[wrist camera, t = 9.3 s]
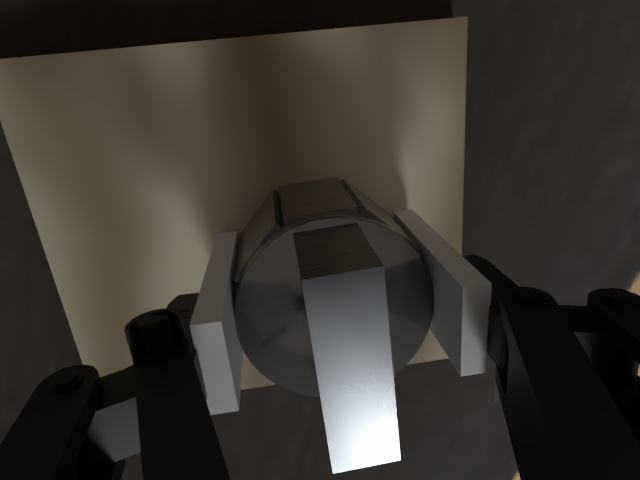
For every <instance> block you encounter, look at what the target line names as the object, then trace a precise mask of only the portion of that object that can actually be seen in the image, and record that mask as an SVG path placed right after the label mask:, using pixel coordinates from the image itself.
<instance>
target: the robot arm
mask: <svg viewBox="0 0 640 480" xmlns="http://www.w3.org/2000/svg"><path fill="white" fill-rule="evenodd" d="M393 216H394V220H395V221H396V222H397V223H398V224H399V225H400V226H401V227H402V229H403V230H404V231H405V232H406V233H407V234H408V235H409V236H410V238H411V239H412V240H413V241H414V242H415V243H416V244H417V245H418V247H419V248H420V249H419V250H420V251H421V252H422V254H423V255H424V264H425V266H426V268H427V271H428V273H429V275H430V279H431V282H432V286H433V293H434V310H433V316H432V321H431V325H430V330H431V331H432V333H433V334H434V336H435V337H436V339H437V341H438V342H439V344H440V345H441V347H442V348H443V350H444V351H445V353H446V355H447V356H448V358H449V359H450V361H451V362H452V364H453V366H454V367H455V369H456V370H457V372H458V373H459V375H460V376H467V375H474V374H480V373H487V367H488V354H489V356H490V357H491V358H492V359H493V361H494V362H495V363H496V378H495V394H494V402H495V403H498V402H499V397H500V400H501V404H502V407H503V411H504V415H505V419H506V423H507V427H508V431H509V435H510V439H511V443H512V447H513V451H514V455H515V459H516V463H517V466H518V470H519V474H520V478H521V480H640V377H639V376H638V375H637V373H638V368H639V364H640V296H639V295H637V294H634V293H631V292H628V291H626V290H623V289H617V288H609V289H598V290H594V291H592V292H591V293H589V294H588V301H587V306H571V305H558V304H557V302H556V301H555V299H554V298H553V297H552V296H551V295H550V294H548V293H546V292H544V291H542V290H539V289H535V288H529V287H518V286H517V285H516V284H515V283H514V282H513V281H511V280H510V279H509V278H508V277H507V276H505V275H504V274H502V272H501V271H500V270H498V269H497V268H495V266H494V265H493V264H491V263H490V262H489V261H488V260H486V259H484V258H481V257H479V256H476V255H474V254H473V255H466V256H462V255H461V254H460V253H458V252H457V251H456V250H455V249H454V248H453V247H452V246H451V245H450V244H449V243H448V242H447V241H446V240H445V239H443V238H442V237H441V236H440V235H439V234H438V233H437V232H436V231H435V230H434V229H433V228H432V227H431V226H430V225H429V224H427V223H426V222H425V221H424V220H423V219H422V218H421V217H420V216H419V215H418V214H417V213H416V212H415V211H414V210H412V209H411V210H403V211H395V212H393ZM237 248H238V235H237V231H235V232H227V233H219V234H216V238H215V241H214V245H213V248H212V251H211V255H210V258H209V261H208V265H207V268H206V272H205V275H204V278H203V282H202V285H201V288H200V292H198V293H190V294H183V295H178V296H177V297H175V298H174V299H173V300H172V301H171V302H170V303H169V304H168V306H167V308H166V309H156V310H151V311H148V312H145V313H143V314H140V315H138V316H137V317H135V318H133V319H132V320H131V321H130V322H129V323H128V324H126V326H125V329H124V332H125V335H126V339H127V342H128V346H129V349H130V352H131V356H132V359H133V365H131V366H130V367H128V368H125V369H123V370H120V371H118V372H115V373H112V374H108V375H105V376H102V377H100V376H99V373H98V370H97V369H96V368H95V367H94V366H90V365H75V366H71V367H66V368H63V369H61V370H60V371H59V370H58V371H56V372H55V373H53V374H52V375H50V376H49V377H47V378H46V379H44V380H43V381H42V382H41V383H40V384H39V385H38V386H37V387H36V389H35V390H34V392H33V394H32V395H31V397H30V398H29V400H28V402H27V403H26V405H25V406H24V408H23V410H22V411H21V413H20V414H19V416H18V417H17V419H16V421H15V422H14V424H13V425H12V427H11V429H10V430H9V432H8V433H7V435H6V437H5V438H4V440H3V441H2V443H1V445H0V480H121V477H122V473H123V470H124V466H125V460H126V458H127V457H129V456H132V455H134V454H137V453H139V452H141V461H142V472H143V480H230V477H229V473H228V470H227V467H226V464H225V460H224V457H223V454H222V451H221V448H220V444H219V441H218V438H217V435H216V431H215V428H214V425H213V422H212V419H211V415H215V414H221V413H227V412H234V411H239V402H240V389H241V376H242V363H243V349H242V347H241V345H240V342H239V339H238V336H237V331H236V326H235V304H236V303H235V298H234V292H233V281H234V280H233V274H234V268H235V261H236V254H237ZM206 400H207V402H206ZM207 405H208V406H207Z"/></svg>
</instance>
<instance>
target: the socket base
mask: <svg viewBox="0 0 640 480" xmlns="http://www.w3.org/2000/svg"><path fill="white" fill-rule="evenodd" d="M467 26H468V17H457V18H446V19H435V20H424V21H413V22H402V23H391V24H380V25H369V26H358V27H347V28H336V29H325V30H314V31H303V32H292V33H281V34H270V35H259V36H248V37H237V38H226V39H215V40H204V41H193V42H181V43H170V44H159V45H148V46H137V47H126V48H115V49H104V50H93V51H82V52H71V53H60V54H49V55H38V56H27V57H16V58H5V59H0V121H1V124H2V127H3V130H4V133H5V136H6V139H7V142H8V145H9V148H10V150H11V153H12V156H13V159H14V162H15V165H16V168H17V171H18V174H19V177H20V180H21V183H22V186H23V189H24V192H25V195H26V198H27V201H28V204H29V207H30V210H31V213H32V215H33V218H34V221H35V224H36V227H37V230H38V233H39V236H40V239H41V242H42V245H43V248H44V251H45V254H46V257H47V260H48V263H49V266H50V269H51V272H52V275H53V277H54V280H55V283H56V286H57V289H58V292H59V295H60V298H61V301H62V304H63V307H64V310H65V313H66V316H67V319H68V322H69V325H70V328H71V331H72V334H73V337H74V339H75V342H76V345H77V348H78V351H79V354H80V357H81V360H82V363H83V365H90V366H94V367H95V368H96V369H97V370H98V373H99V376H100V377H102V376H105V375H108V374H112V373H115V372H118V371H120V370H123V369H125V368H128V367H130V366H131V365H133V359H132V356H131V352H130V349H129V346H128V342H127V339H126V335H125V332H124V329H125V326H126V324H128V323H129V322H130V321H131V320H132V319H133V318H135V317H137V316H138V315H140V314H143V313H145V312H148V311H151V310H156V309H166V308H167V306H168V304H169V303H170V302H171V301H172V300H173V299H174V298H175V297H177V296H178V295H183V294H190V293H198V292H200V288H201V285H202V282H203V278H204V275H205V272H206V268H207V265H208V261H209V258H210V255H211V251H212V248H213V245H214V241H215V238H216V234H219V233H227V232H235V231H237V235H238V241H239V235H240V233H241V232H242V231H243V229H244V228H245V227H246V225H247V224H248V223H249V221H250V220H251V219H252V217H253V216H254V214H255V213H256V212H257V210H258V209H259V208H260V206H261V205H262V204H263V202H264V201H265V199H266V198H267V197H268V195H269V194H270V193H271V191H272V190H274V191H276V192H277V193H278V194H280V191H279V186H282V185H288V184H294V183H301V182H307V181H313V180H320V179H326V178H332V177H337V178H338V179H339V181H340V182H341V181H342V180H343V179H345V180H346V181H347V182H349V183H350V184H351V185H353V186H354V187H355V188H357V189H358V190H359V191H361V192H362V193H363V194H365V195H366V196H367V197H369V198H370V199H371V200H373V201H374V202H376V203H377V204H378V205H380V206H381V207H382V208H384V209H385V210H386V211H387V212H388V213H389V214H390V215H391V216H392V217H393V218H394V216H393V212H395V211H403V210H411V209H412V210H414V211H415V212H416V213H417V214H418V215H419V216H420V217H421V218H422V219H423V220H424V221H425V222H426V223H427V224H429V225H430V226H431V227H432V228H433V229H434V230H435V231H436V232H437V233H438V234H439V235H440V236H441V237H442V238H443V239H445V240H446V241H447V242H448V243H449V244H450V245H451V246H452V247H453V248H454V249H455V250H456V251H457V252H458V253H460V254H461V255H462V222H463V183H464V144H465V104H466V65H467ZM447 358H448V356H447V355H446V353H445V351H444V350H443V348H442V347H441V345H440V344H439V342H438V341H437V339H436V337H435V336H434V334H433V333H432V331H431V330H430V328H429V331H428V333H427V335H426V338H425V340H424V342H423V343H422V345H421V347H420V348H419V350H418V351H417V353H416V354H415V355H414V356H413V358H412V359H411V360H410V361H409V362H408V363H407V364H414V363H420V362H427V361H434V360H440V359H447ZM407 364H406V365H407ZM269 385H275V383H273V382H272V381H270V380H268V379H267V378H266V377H265V376H264V375H262V374H261V373H260V372H259V371H258V370H257V369H256V368H255V367H254V366H253V365H252V364H251V362H250V361H249V359H248V358H247V356H246V355H245V353H244V351H243V363H242V376H241V389H240V390H242V389H249V388H256V387H262V386H269Z"/></svg>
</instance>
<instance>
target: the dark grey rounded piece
mask: <svg viewBox="0 0 640 480" xmlns="http://www.w3.org/2000/svg"><path fill="white" fill-rule="evenodd" d="M279 191H280V194H278V193H277V192H276V191H274V190H272V191H271V193H270V194H269V195H268V197H267V198H266V199H265V201H264V202H263V204H262V205H261V206H260V208H259V209H258V210H257V212H256V213H255V214H254V216H253V217H252V219H251V220H250V221H249V223H248V224H247V225H246V227H245V228H244V229H243V231H242V232H241V233H240V235H239V241H238V248H237V254H236V261H235V268H234V274H233V280H234V281H233V292H234V298H235V303H236V304H235V326H236V331H237V336H238V339H239V342H240V345H241V347H242V349H243V351H244V353H245V355H246V356H247V358H248V359H249V361H250V362H251V364H252V365H253V366H254V367H255V368H256V369H257V370H258V371H259V372H260V373H261V374H262V375H264V376H265V377H266V378H267V379H268V380H270V381H272V382H273V383H275V384H276V385H278V386H280V387H282V388H285V389H287V390H289V391H292V392H295V393H298V394H303V395H308V396H314V397H320V403H321V408H322V414H323V420H324V426H325V432H326V437H327V443H328V449H329V455H330V461H331V466H332V472H333V474H334V473H339V472H344V471H349V470H354V469H359V468H364V467H369V466H374V465H379V464H384V463H389V462H394V461H399V460H401V457H400V445H399V434H398V422H397V411H396V399H395V387H394V376H393V375H395V374H396V373H397V372H399V371H400V370H401V369H402V368H403V367H404V366H405V365H406V364H407V363H408V362H409V361H410V360H411V359H412V358H413V356H414V355H415V354H416V353H417V351H418V350H419V348H420V347H421V345H422V343H423V342H424V340H425V338H426V335H427V333H428V331H429V328H430V325H431V321H432V316H433V310H434V293H433V286H432V282H431V279H430V275H429V273H428V271H427V268H426V266H425V264H424V255H423V254H422V252H421V251H420V250H419V249H420V248H419V247H418V245H417V244H416V243H415V242H414V241H413V240H412V239H411V238H410V236H409V235H408V234H407V233H406V232H405V231H404V230H403V229H402V227H401V226H400V225H399V224H398V223H397V222H396V221H395V220H394V218H393V217H392V216H391V215H390V214H389V213H388V212H387V211H386V210H385V209H384V208H382V207H381V206H380V205H378V204H377V203H376V202H374V201H373V200H371V199H370V198H369V197H367V196H366V195H365V194H363V193H362V192H361V191H359V190H358V189H357V188H355V187H354V186H353V185H351V184H350V183H349V182H347V181H346V180H345V179H343V180H342V181H341V182H340V181H339V179H338V178H337V177H332V178H326V179H320V180H313V181H307V182H301V183H294V184H288V185H282V186H279Z"/></svg>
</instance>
